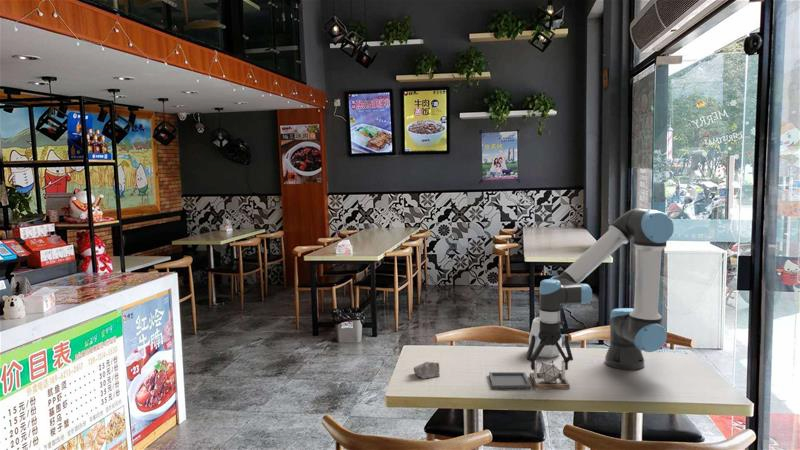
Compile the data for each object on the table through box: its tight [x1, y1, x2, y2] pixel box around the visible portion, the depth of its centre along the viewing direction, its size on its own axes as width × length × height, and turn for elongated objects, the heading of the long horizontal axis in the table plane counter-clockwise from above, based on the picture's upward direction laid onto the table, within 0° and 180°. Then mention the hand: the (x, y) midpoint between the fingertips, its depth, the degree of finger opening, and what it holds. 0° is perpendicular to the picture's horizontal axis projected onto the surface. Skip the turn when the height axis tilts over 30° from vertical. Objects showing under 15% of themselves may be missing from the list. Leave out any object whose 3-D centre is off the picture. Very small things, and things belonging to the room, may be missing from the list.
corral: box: [529, 372, 571, 390], centre depth 230 cm, size 13×13×2 cm
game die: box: [537, 360, 562, 384], centre depth 229 cm, size 9×8×10 cm
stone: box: [413, 361, 441, 380], centre depth 239 cm, size 10×8×6 cm
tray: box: [488, 371, 532, 390], centre depth 230 cm, size 14×14×2 cm
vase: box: [528, 316, 563, 359], centre depth 262 cm, size 14×14×15 cm
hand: (549, 378), depth 230 cm, fingers closed on corral, 10 cm apart
